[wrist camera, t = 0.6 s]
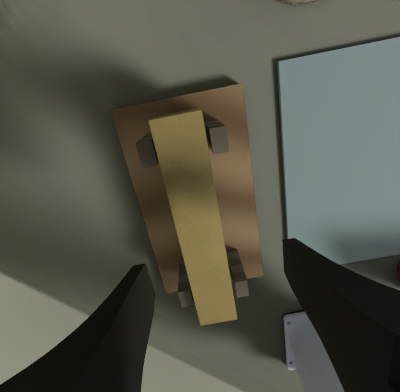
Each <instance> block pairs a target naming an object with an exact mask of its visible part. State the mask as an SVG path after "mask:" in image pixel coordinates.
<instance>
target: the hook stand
mask: <svg viewBox="0 0 400 392" xmlns="http://www.w3.org/2000/svg"><path fill="white" fill-rule="evenodd" d="M197 108H200V109H201V110H202V114H203V120H204V126H205V132H206V138H207V144H208V149H209V155H210V161H211V167H212V173H213V179H214V184H215V190H216V196H217V202H218V208H219V214H220V219H221V225H222V231H223V237H224V243H225V249H226V254H227V260H228V266H229V272H230V278H231V282H233V283H234V287H235V291H236V295H237V298H239V297H245V296H249V290H248V283H247V279H250V278H256V277H262V276H263V269H262V260H261V251H260V241H259V232H258V222H257V213H256V204H255V194H254V185H253V175H252V166H251V157H250V147H249V138H248V128H247V119H246V110H245V100H244V91H243V83H241V84H236V85H231V86H226V87H221V88H216V89H211V90H206V91H201V92H196V93H191V94H186V95H181V96H176V97H171V98H166V99H161V100H156V101H151V102H146V103H141V104H136V105H131V106H126V107H121V108H116V109H111V110H110V112H111V115H112V118H113V121H114V125H115V128H116V131H117V134H118V138H119V141H120V144H121V147H122V151H123V154H124V157H125V160H126V164H127V167H128V170H129V173H130V177H131V180H132V183H133V186H134V190H135V193H136V196H137V199H138V203H139V206H140V209H141V212H142V216H143V219H144V222H145V225H146V229H147V232H148V235H149V238H150V242H151V245H152V248H153V251H154V255H155V258H156V261H157V264H158V268H159V271H160V274H161V277H162V281H163V284H164V287H165V290H166V293H171V292H177V291H178V296H179V299H180V303H181V306H182V307H187V306H193V305H194V298H193V294H192V290H191V286H190V282H189V278H188V274H187V270H186V266H185V262H184V258H183V255H182V251H181V247H180V243H179V239H178V235H177V231H176V227H175V223H174V219H173V215H172V211H171V207H170V204H169V200H168V196H167V192H166V188H165V184H164V180H163V176H162V172H161V168H160V164H159V160H158V156H157V152H156V149H155V145H154V141H153V137H152V133H151V129H150V125H149V121H148V120H150V119H152V118H154V117H156V116H162V115H167V114H172V113H177V112H182V111H187V110H192V109H197Z"/></svg>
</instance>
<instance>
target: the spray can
mask: <svg viewBox="0 0 400 392" xmlns="http://www.w3.org/2000/svg"><path fill="white" fill-rule="evenodd" d="M278 1H280V2H283V3H287V4H288V3H290V4H292V5H294V6H295V5H298V6H299V5H302V4H307V3H309V2H315V1H316V0H278Z"/></svg>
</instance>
